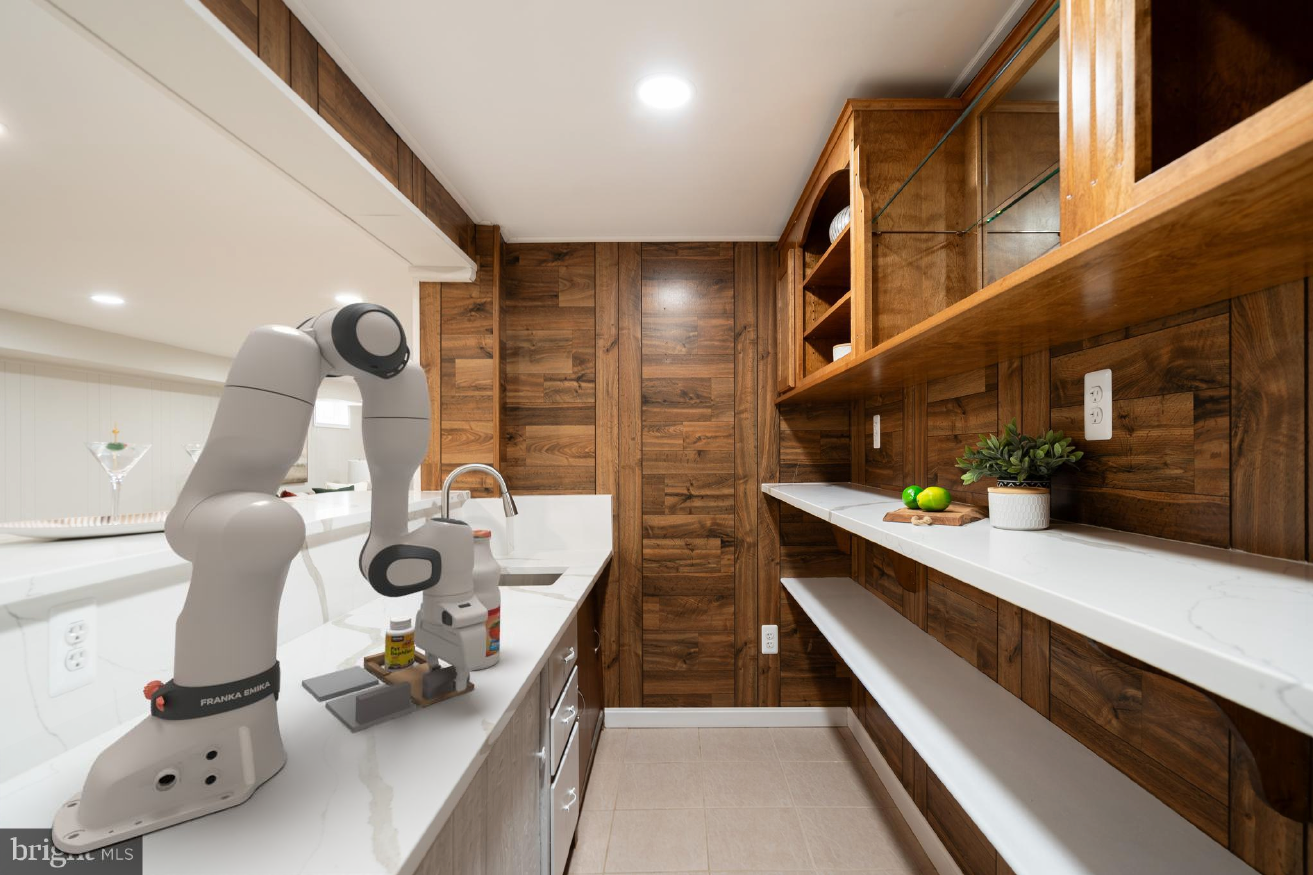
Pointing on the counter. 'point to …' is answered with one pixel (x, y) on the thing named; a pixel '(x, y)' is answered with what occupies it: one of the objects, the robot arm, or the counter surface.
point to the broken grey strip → (345, 687)
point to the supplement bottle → (399, 644)
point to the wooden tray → (419, 679)
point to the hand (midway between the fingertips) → (446, 682)
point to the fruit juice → (487, 593)
